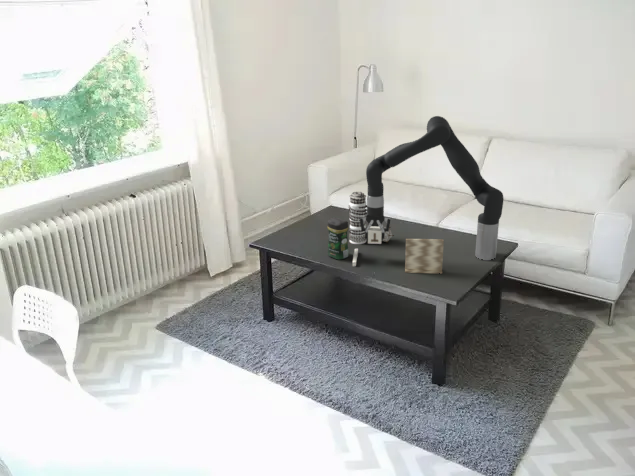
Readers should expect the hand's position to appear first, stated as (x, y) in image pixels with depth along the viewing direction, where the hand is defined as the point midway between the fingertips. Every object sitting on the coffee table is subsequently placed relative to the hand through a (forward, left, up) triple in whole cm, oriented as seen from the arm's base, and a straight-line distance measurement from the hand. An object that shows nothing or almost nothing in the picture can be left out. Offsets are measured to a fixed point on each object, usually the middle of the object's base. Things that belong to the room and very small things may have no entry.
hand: (374, 239), depth 274 cm
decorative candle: (-14, -20, -10) cm, 27 cm away
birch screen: (-2, +24, -10) cm, 26 cm away
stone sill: (+5, -8, -10) cm, 14 cm away
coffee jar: (+7, -16, -10) cm, 20 cm away
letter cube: (0, 0, -1) cm, 1 cm away
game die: (-21, -9, -10) cm, 25 cm away
